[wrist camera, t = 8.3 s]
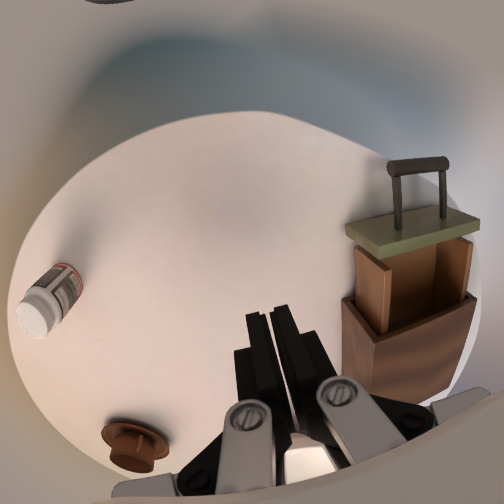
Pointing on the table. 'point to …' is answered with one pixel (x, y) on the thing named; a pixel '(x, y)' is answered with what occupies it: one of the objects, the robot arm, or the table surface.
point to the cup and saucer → (134, 447)
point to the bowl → (306, 459)
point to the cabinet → (405, 352)
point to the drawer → (411, 255)
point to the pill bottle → (49, 300)
